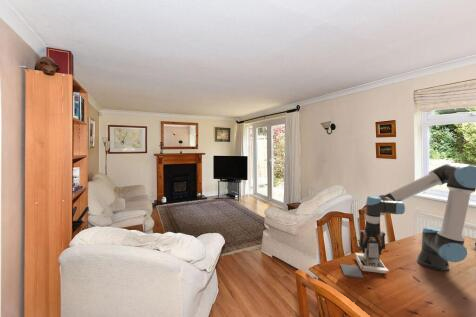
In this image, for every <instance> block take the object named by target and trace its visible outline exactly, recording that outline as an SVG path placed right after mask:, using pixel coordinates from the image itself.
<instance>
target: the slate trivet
mask: <svg viewBox="0 0 476 317" xmlns="http://www.w3.org/2000/svg"><path fill="white" fill-rule="evenodd" d="M339 267H340V268H341V271H342V274H343V275H344V277H348V278H349V277H351V278H358V279H364V277H365V276H364V275H363V274H362V270H361V268H359V267H360V266H359V265H354V264H344V263H340V264H339Z"/></svg>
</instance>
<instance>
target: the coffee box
mask: <svg viewBox="0 0 476 317" xmlns="http://www.w3.org/2000/svg"><path fill="white" fill-rule="evenodd" d="M365 238H366V236H365V237H363V241H364V240H365ZM379 242H380V241H379ZM379 242H378V241H376V239H375V238H374V237H370V239H369V241H367V245H366V249H367V251H366V259H365V258H364V259H363V263H364V266H373V267H380V265H379V261H380V260H381V257H380V256H381V255H380V245H381V242H380V243H379Z"/></svg>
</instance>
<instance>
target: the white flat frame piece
mask: <svg viewBox="0 0 476 317" xmlns="http://www.w3.org/2000/svg"><path fill="white" fill-rule="evenodd" d="M354 253H355V259H356V262H357V265H358V267H360V268H359V269H360V271H361V272H362V271H363V272H372V273H379V274H387V272H390V271H389V269H388V268H387V267H386V266H385V265H384V263H383V261H382V260H381V259H380V261H379V267H373V266H366V265H365V264H364V265H363V263H362V262H361V261H363V259H364V253H363V252H362V253H361V252H360V253H359V252H354Z"/></svg>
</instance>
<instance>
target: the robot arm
mask: <svg viewBox="0 0 476 317" xmlns="http://www.w3.org/2000/svg"><path fill="white" fill-rule="evenodd" d="M444 184H446V187H447V188H448V190H449V191H448V195H447V200H446V206H445V210H444V214H443V215H444V216H443V220H442V225H441V228H438V227H433V226H432V227H431V226H425V227H423V229H422V234H421V235H422V236H421V239H422V240H421V250H420V251H419V254H418V255H417V259H416V261H417V263H419V264H420V265H421V266H423V267H425V268H428V269H432V270H435V271H448V270H449V267H450V265H449V264H450V263H459V262H462V261H464V260H466V258H467V256H468V251H467V248H466V247H465V240H466V239H465V238H464V237H463V230H464V227H465V222H466V218H467V212H468V209H469V208H468V207H469V203H470V198H471V194H473V193H475V192H476V166H475V165H471V164H464V163H456V162H451V163H446V164H443V165H440V166H438V167H436V168H434V169H431V170H430V171H429V172H428V173H427V174H426V175H424V176H422V177H420V178H417V179H416V180H413V181H411V182H409V183H407V184H405V185H403V186H401V187H399V188H397V189H395V190H393V191H391V192H389V193H387V194H379V195H376V196H375V195H370V196H367V197H366V202H365V205H366V207H365V209H366V210H365V211H366V212H365V228H364V230H362V229H360V230H359V242H358V245H359V247H361V252H362V254H364V258H365V259H366V251H367V249H366V245H367V241H369V239H370V238H375V239H376V241H378V242H379V243H380V256H381V255H382V251H383V250H385V249H386V244H385V243H386V241H385V238H386V237H385V236H386V233H385V232H384V231H381V214H387V215H388V214H389V215H390V214H391V215H403V214H404V213H405V211H406V208H405V207H406V206H405V204H404V202H403V201H405V200H407V199H410V198H411V197H414V196H416V195H418V194H421V193H422V192H425V191H427V190H429V189H432V188H433V187H436V186H442V185H444ZM365 234H366V235H365ZM364 235H365V237H366V238H365V240H364ZM379 235H380V239H379ZM449 262H450V263H449Z"/></svg>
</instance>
